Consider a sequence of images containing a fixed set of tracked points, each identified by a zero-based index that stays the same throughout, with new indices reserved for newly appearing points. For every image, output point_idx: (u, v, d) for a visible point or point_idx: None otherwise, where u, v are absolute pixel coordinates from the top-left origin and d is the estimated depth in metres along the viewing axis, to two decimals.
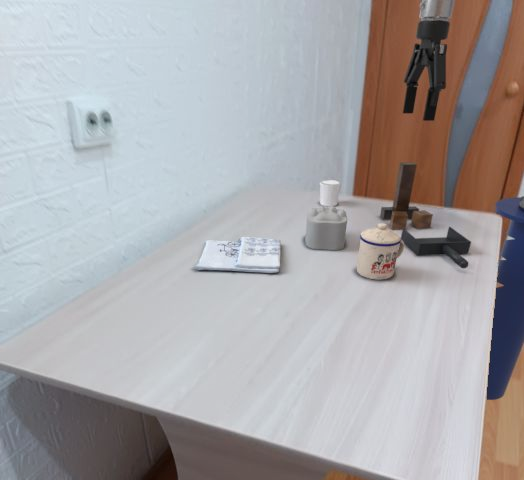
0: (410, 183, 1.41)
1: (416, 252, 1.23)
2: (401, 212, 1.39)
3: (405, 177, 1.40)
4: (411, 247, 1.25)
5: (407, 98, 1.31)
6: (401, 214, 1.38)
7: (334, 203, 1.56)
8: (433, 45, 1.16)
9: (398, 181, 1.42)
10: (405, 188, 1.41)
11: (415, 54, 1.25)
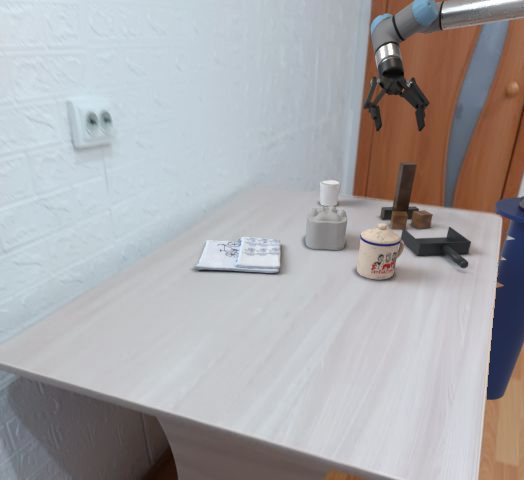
0: (410, 183, 1.41)
1: (416, 252, 1.23)
2: (401, 212, 1.39)
3: (405, 177, 1.40)
4: (411, 247, 1.25)
5: (417, 119, 1.45)
6: (401, 214, 1.38)
7: (334, 203, 1.56)
8: None
9: (398, 181, 1.42)
10: (405, 188, 1.41)
11: (409, 89, 1.46)
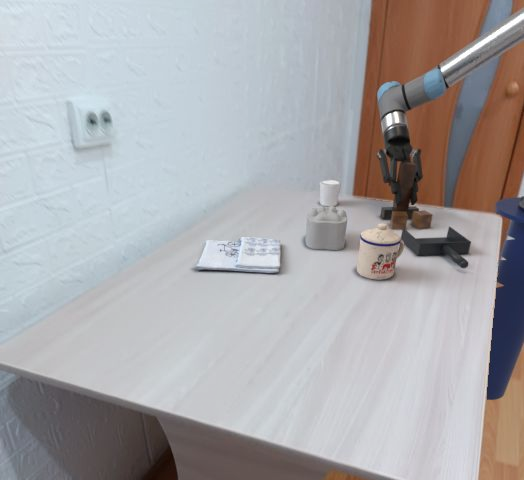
0: (410, 183, 1.41)
1: (416, 252, 1.23)
2: (401, 212, 1.39)
3: (405, 177, 1.40)
4: (411, 247, 1.25)
5: None
6: (401, 214, 1.38)
7: (334, 203, 1.56)
8: None
9: None
10: (405, 188, 1.41)
11: (413, 159, 1.46)
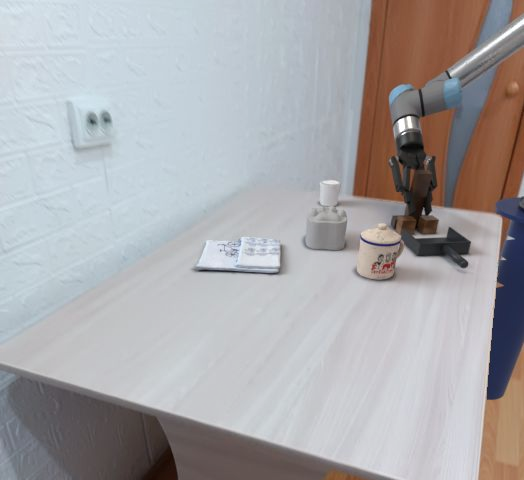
0: (424, 193, 1.33)
1: (416, 252, 1.23)
2: (407, 217, 1.36)
3: (419, 187, 1.31)
4: (411, 247, 1.25)
5: None
6: (409, 219, 1.34)
7: (334, 203, 1.56)
8: None
9: None
10: (418, 198, 1.33)
11: (427, 166, 1.38)
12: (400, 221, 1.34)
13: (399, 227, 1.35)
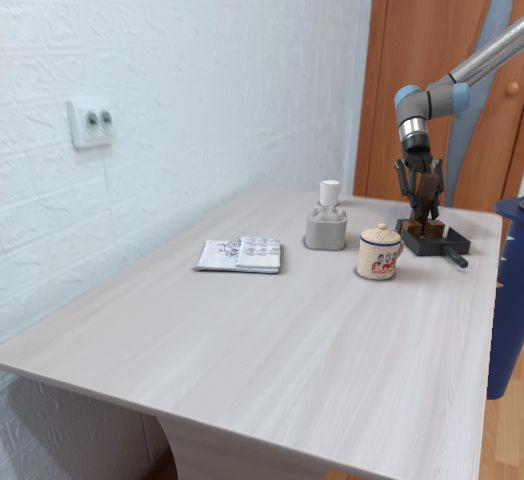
0: (431, 197, 1.29)
1: (416, 252, 1.23)
2: (413, 221, 1.32)
3: (425, 191, 1.28)
4: (411, 247, 1.25)
5: None
6: (414, 224, 1.31)
7: (334, 203, 1.56)
8: None
9: None
10: (424, 202, 1.30)
11: (434, 169, 1.34)
12: (405, 226, 1.31)
13: None
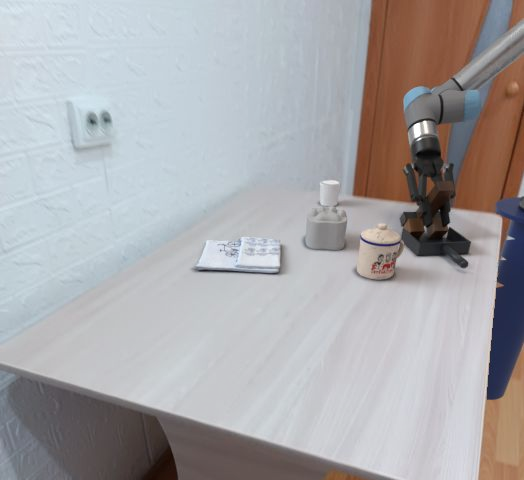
0: (441, 203, 1.24)
1: (416, 252, 1.23)
2: (417, 221, 1.29)
3: (437, 199, 1.22)
4: (411, 247, 1.25)
5: (441, 213, 1.26)
6: (418, 228, 1.29)
7: (334, 203, 1.56)
8: None
9: (429, 197, 1.24)
10: (433, 206, 1.25)
11: (444, 174, 1.29)
12: (409, 228, 1.29)
13: None
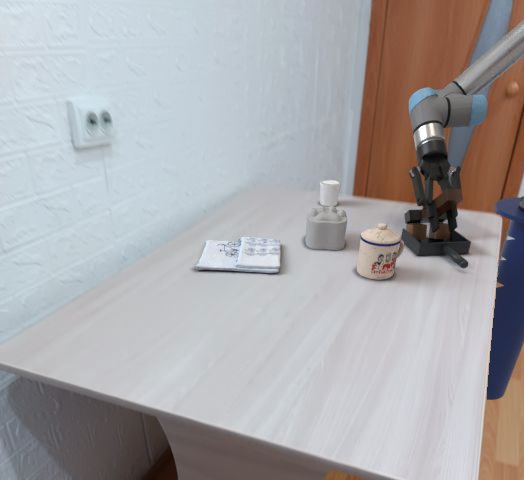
0: (448, 208, 1.21)
1: (416, 252, 1.23)
2: (421, 228, 1.28)
3: (444, 206, 1.19)
4: (411, 247, 1.25)
5: (447, 217, 1.23)
6: (420, 236, 1.28)
7: (334, 203, 1.56)
8: None
9: (436, 202, 1.20)
10: (440, 210, 1.22)
11: (451, 177, 1.25)
12: (411, 234, 1.28)
13: None
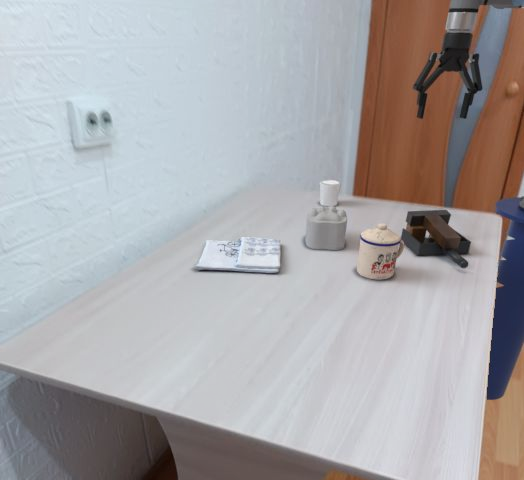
0: None
1: (416, 252, 1.23)
2: (421, 232, 1.28)
3: None
4: (411, 247, 1.25)
5: (463, 103, 1.41)
6: (418, 239, 1.29)
7: (334, 203, 1.56)
8: None
9: (435, 233, 1.21)
10: None
11: (470, 63, 1.36)
12: None
13: None
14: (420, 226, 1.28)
